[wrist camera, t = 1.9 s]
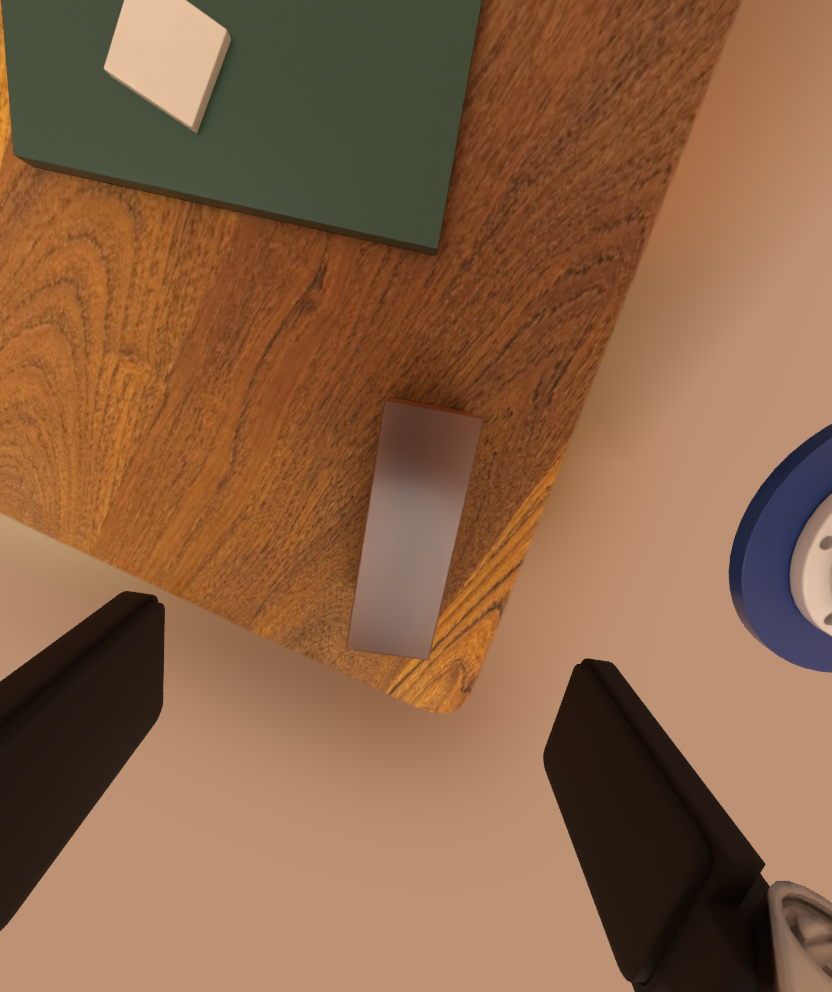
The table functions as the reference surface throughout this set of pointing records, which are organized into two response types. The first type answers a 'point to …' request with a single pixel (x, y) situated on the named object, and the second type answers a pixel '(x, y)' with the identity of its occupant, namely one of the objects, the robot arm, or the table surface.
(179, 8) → the chalk mark
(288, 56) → the chalkboard
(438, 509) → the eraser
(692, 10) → the table surface
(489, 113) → the table surface
